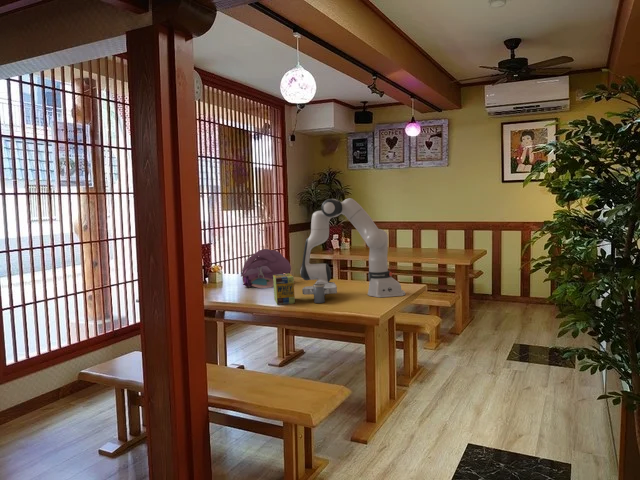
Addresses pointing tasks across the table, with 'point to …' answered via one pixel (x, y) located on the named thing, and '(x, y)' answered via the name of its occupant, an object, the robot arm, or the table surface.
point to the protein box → (283, 289)
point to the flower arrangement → (264, 268)
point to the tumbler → (318, 293)
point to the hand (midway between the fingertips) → (318, 292)
